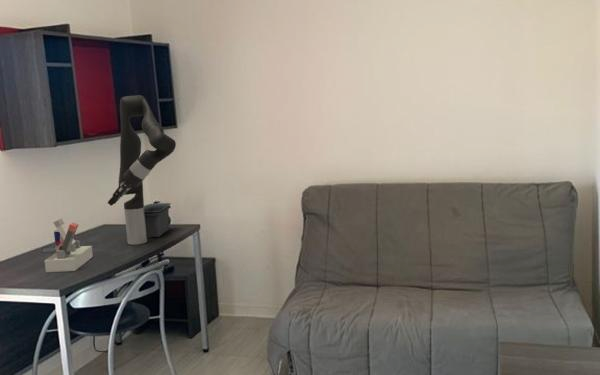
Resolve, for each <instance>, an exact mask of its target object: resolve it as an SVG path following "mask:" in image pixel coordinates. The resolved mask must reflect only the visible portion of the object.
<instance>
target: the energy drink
mask: <svg viewBox="0 0 600 375" xmlns="http://www.w3.org/2000/svg"><path fill="white" fill-rule="evenodd" d="M53 236H54V243H55V252H56V251H60V250H61V248H62V245H63V243H64V239H63V238H62V236H61V234H60V233H59V231H58V229H55V230H54V232H53Z"/></svg>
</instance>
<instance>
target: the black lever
mask: <svg viewBox="0 0 600 375" xmlns="http://www.w3.org/2000/svg"><path fill="white" fill-rule="evenodd" d="M79 225H80V224H78V223H76V222H71V223H70V224H69V225H68V227H67V228H68V231H67V234H66V237H65V240H64V243H63V245H62V248H61V250H65V255H66V254H68V251H69V250H70V247H71V244H72V241H73V238H74V237H75V235H76V233H77V231H78V230H77V229H78V228H79Z"/></svg>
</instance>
